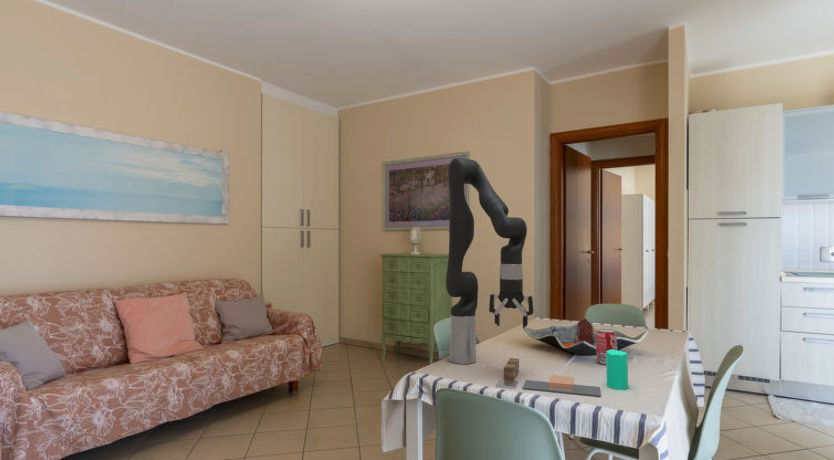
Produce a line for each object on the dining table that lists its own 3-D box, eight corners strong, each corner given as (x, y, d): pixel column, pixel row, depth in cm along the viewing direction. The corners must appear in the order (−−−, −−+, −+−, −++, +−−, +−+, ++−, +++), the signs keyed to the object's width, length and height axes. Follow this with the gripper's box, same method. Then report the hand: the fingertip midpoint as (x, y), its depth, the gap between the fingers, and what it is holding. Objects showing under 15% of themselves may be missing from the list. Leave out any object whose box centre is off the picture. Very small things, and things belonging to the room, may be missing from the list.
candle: (603, 383, 146) (602, 345, 146) (621, 383, 147) (621, 344, 147) (612, 390, 140) (612, 349, 140) (631, 389, 141) (631, 349, 141)
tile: (550, 381, 147) (548, 388, 140) (550, 374, 147) (548, 382, 140) (574, 383, 145) (573, 391, 137) (573, 377, 145) (573, 384, 138)
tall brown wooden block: (505, 370, 162) (505, 357, 162) (523, 372, 160) (523, 359, 160) (495, 387, 144) (495, 372, 144) (515, 389, 142) (515, 374, 142)
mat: (522, 389, 141) (522, 387, 141) (525, 381, 149) (525, 379, 149) (600, 397, 134) (600, 395, 134) (600, 388, 141) (600, 386, 142)
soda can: (616, 361, 172) (616, 329, 173) (618, 366, 166) (617, 332, 166) (596, 360, 175) (595, 327, 175) (596, 365, 168) (596, 331, 168)
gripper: (487, 277, 154) (487, 327, 154) (531, 279, 149) (531, 330, 149) (492, 275, 161) (491, 323, 161) (534, 277, 156) (534, 325, 156)
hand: (511, 326), depth 155 cm, fingers open, 8 cm apart
